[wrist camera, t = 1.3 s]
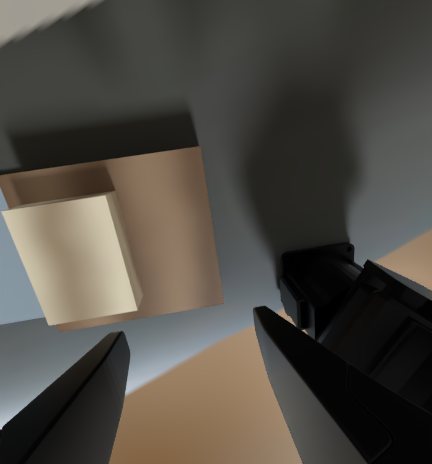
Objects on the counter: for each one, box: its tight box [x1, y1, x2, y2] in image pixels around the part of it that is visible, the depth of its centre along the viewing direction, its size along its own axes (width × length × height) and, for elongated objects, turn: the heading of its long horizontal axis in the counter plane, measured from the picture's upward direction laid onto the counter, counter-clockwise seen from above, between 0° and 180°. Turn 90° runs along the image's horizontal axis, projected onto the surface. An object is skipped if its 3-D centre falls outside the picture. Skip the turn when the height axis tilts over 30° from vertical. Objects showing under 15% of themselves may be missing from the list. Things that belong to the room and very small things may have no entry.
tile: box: [1, 191, 143, 326], centre depth 17 cm, size 6×8×2 cm
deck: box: [0, 146, 224, 332], centre depth 19 cm, size 13×12×3 cm
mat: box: [0, 188, 45, 324], centre depth 20 cm, size 8×12×1 cm, turn 8°
